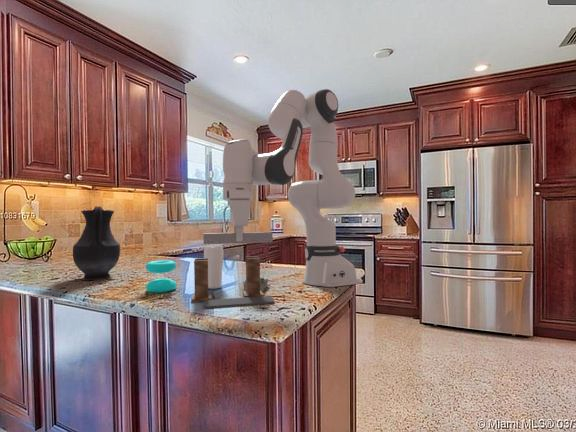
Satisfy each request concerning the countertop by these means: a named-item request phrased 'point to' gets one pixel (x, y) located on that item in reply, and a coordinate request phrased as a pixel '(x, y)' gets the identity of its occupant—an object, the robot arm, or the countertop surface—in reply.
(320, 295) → the countertop surface
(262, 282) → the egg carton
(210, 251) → the drinking glass
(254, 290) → the post
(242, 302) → the grey flat bar
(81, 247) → the pitcher
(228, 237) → the rail
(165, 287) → the donuts
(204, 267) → the post
